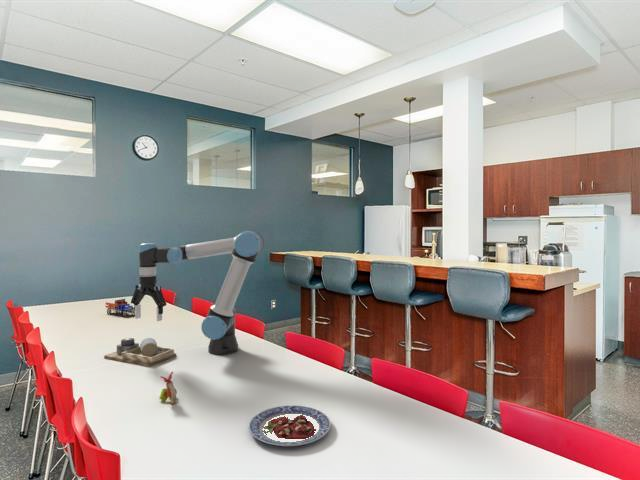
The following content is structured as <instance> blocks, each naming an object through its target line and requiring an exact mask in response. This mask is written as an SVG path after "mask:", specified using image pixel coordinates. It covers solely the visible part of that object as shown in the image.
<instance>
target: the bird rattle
mask: <svg viewBox="0 0 640 480" xmlns="http://www.w3.org/2000/svg"><path fill="white" fill-rule="evenodd" d="M173 373H174V371H171V372H170V374H169V375H168V377H165V376H163V375H160V378H161V379H163V381H164V383H166V388H165V387H164V388H163V389H162V390H161V392H160V395H159V398H158V399H159V400H161V402H162V403H165V402H167V400H168V399H169V401H170V403H171V404H172V405H175V404H176V403H177V394H178V391H177V388H175V385H174V382H173V381H172V376H173Z"/></svg>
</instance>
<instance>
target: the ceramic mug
mask: <svg viewBox="0 0 640 480" xmlns="http://www.w3.org/2000/svg"><path fill="white" fill-rule="evenodd" d="M139 346H140V349H141V352H142V354H143V355H144V356H148V357H152V356H154V355H155V354H161V353H163V352H164V350H163V349H161V348H159V347H160V346H159V347H157V346H158V342H157V341H156V339H154V338H152V337H146V338H144V339H142V341H141V342H140V343H139Z"/></svg>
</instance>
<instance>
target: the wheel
mask: <svg viewBox="0 0 640 480" xmlns="http://www.w3.org/2000/svg"><path fill="white" fill-rule="evenodd" d="M134 343H135V338H133V337H128V338H123V339H121V340H120V344H121V345H123V346H127V345H132V344H134Z"/></svg>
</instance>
